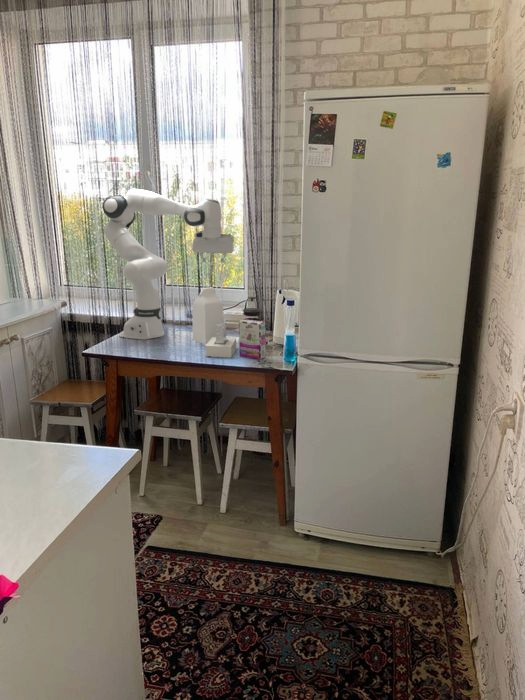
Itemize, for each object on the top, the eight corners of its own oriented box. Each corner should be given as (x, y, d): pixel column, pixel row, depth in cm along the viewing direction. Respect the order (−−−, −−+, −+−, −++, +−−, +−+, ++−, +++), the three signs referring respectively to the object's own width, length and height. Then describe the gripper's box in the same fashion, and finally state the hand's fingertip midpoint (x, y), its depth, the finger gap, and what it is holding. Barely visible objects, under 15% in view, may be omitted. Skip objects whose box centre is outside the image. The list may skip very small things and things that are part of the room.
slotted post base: (205, 356, 233) (205, 345, 231) (212, 347, 246) (212, 337, 244) (231, 357, 231) (231, 346, 230) (236, 348, 245) (236, 338, 243)
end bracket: (216, 354, 236) (215, 326, 232) (218, 350, 242) (218, 323, 238) (223, 354, 236) (223, 326, 232) (226, 350, 241) (225, 323, 237)
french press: (248, 340, 257) (247, 294, 251) (265, 342, 254) (265, 295, 247) (237, 346, 247) (236, 298, 240) (255, 349, 244) (255, 300, 237)
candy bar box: (266, 357, 231) (266, 321, 227) (260, 360, 227) (260, 324, 222) (244, 353, 237) (244, 318, 232) (238, 356, 233) (238, 320, 228)
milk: (205, 345, 250) (203, 291, 242) (192, 339, 258) (190, 287, 251) (225, 340, 257) (224, 288, 250) (212, 335, 266) (211, 285, 258)
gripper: (234, 233, 256) (235, 261, 261) (194, 232, 259) (195, 260, 263) (232, 234, 250) (232, 263, 255) (190, 233, 253) (191, 262, 257)
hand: (213, 262), depth 259 cm, fingers open, 8 cm apart
